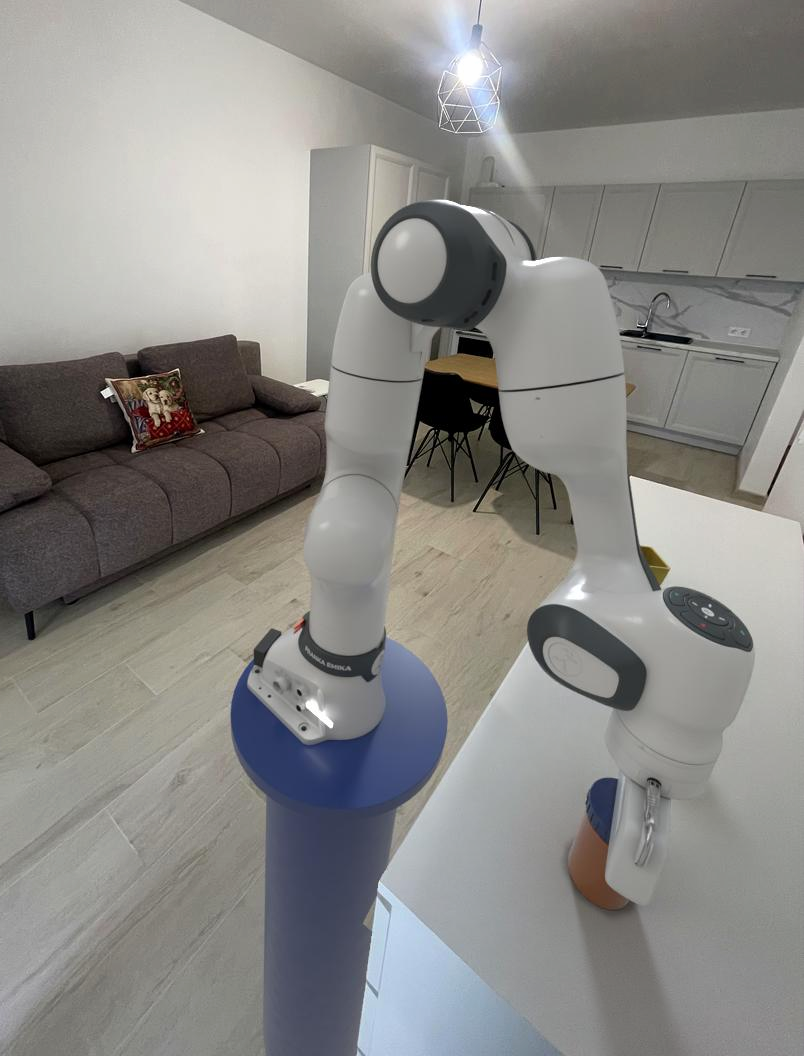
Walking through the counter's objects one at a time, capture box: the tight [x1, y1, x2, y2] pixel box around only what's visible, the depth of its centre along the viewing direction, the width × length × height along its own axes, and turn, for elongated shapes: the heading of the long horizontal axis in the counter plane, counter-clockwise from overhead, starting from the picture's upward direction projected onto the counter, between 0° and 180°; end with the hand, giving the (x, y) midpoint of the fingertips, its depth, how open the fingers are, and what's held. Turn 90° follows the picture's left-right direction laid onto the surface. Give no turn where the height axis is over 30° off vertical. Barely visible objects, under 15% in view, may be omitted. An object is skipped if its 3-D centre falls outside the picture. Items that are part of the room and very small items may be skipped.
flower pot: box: [640, 544, 671, 586], centre depth 108 cm, size 9×9×9 cm
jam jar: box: [567, 808, 630, 911], centre depth 55 cm, size 7×7×10 cm
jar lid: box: [584, 777, 618, 844], centre depth 53 cm, size 7×7×2 cm
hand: (622, 836), depth 53 cm, fingers closed on jam jar, 6 cm apart
